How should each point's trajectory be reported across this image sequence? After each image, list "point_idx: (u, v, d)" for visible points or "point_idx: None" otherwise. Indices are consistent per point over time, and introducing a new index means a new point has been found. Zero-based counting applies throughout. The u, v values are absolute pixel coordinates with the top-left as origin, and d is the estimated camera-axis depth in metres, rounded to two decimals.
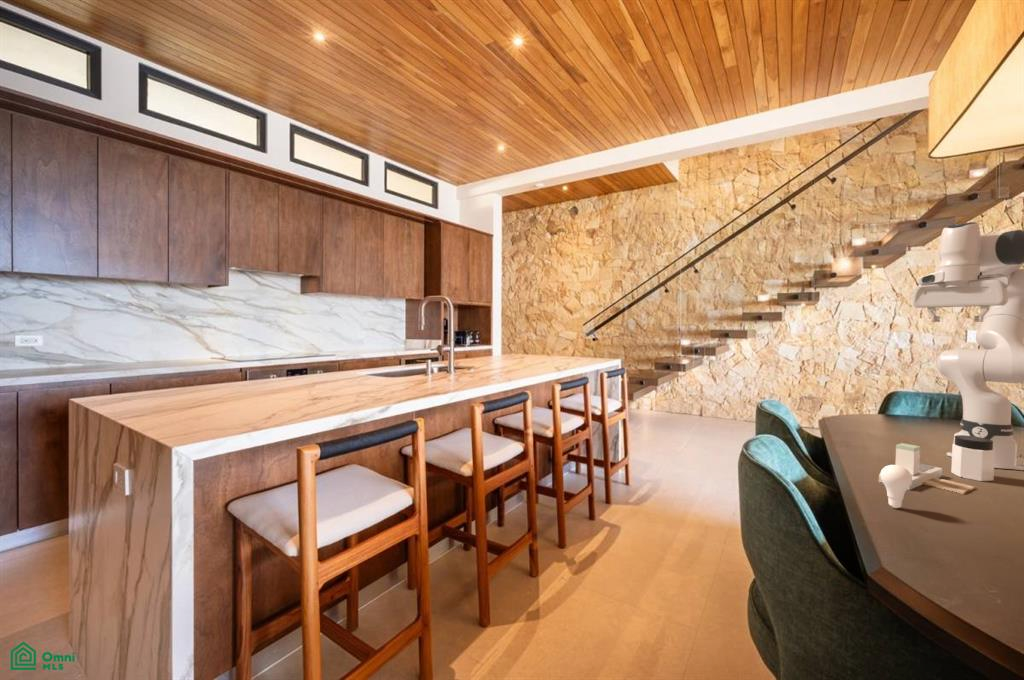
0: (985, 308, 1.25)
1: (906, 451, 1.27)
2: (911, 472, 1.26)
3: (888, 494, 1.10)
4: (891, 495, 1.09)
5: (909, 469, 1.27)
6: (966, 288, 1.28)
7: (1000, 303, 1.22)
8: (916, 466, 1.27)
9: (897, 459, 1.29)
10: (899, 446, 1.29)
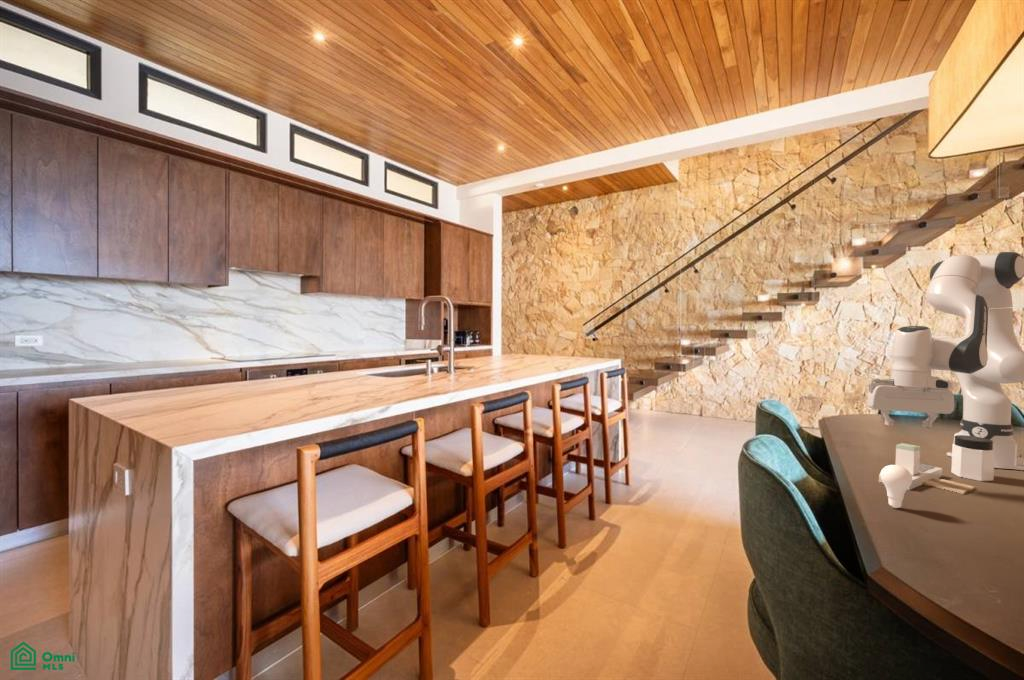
0: None
1: (906, 451, 1.27)
2: (911, 472, 1.26)
3: (888, 494, 1.10)
4: (891, 495, 1.09)
5: (909, 469, 1.27)
6: None
7: None
8: (916, 466, 1.27)
9: (897, 459, 1.29)
10: (899, 446, 1.29)
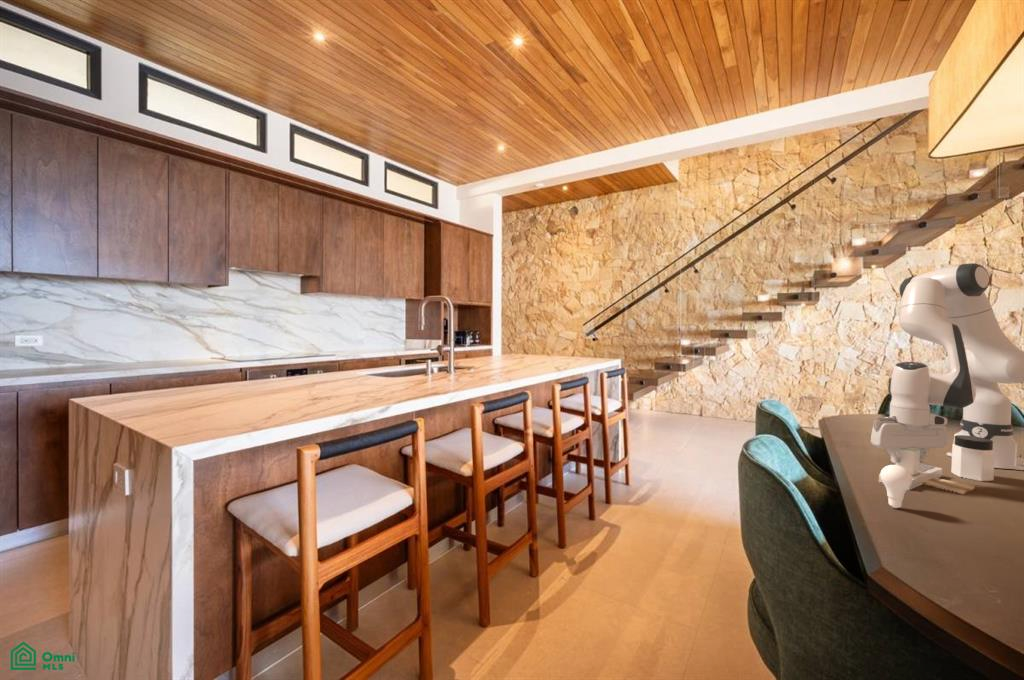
0: None
1: (906, 451, 1.27)
2: (911, 472, 1.26)
3: (888, 494, 1.10)
4: (891, 495, 1.09)
5: (909, 469, 1.27)
6: None
7: None
8: (916, 466, 1.27)
9: None
10: None
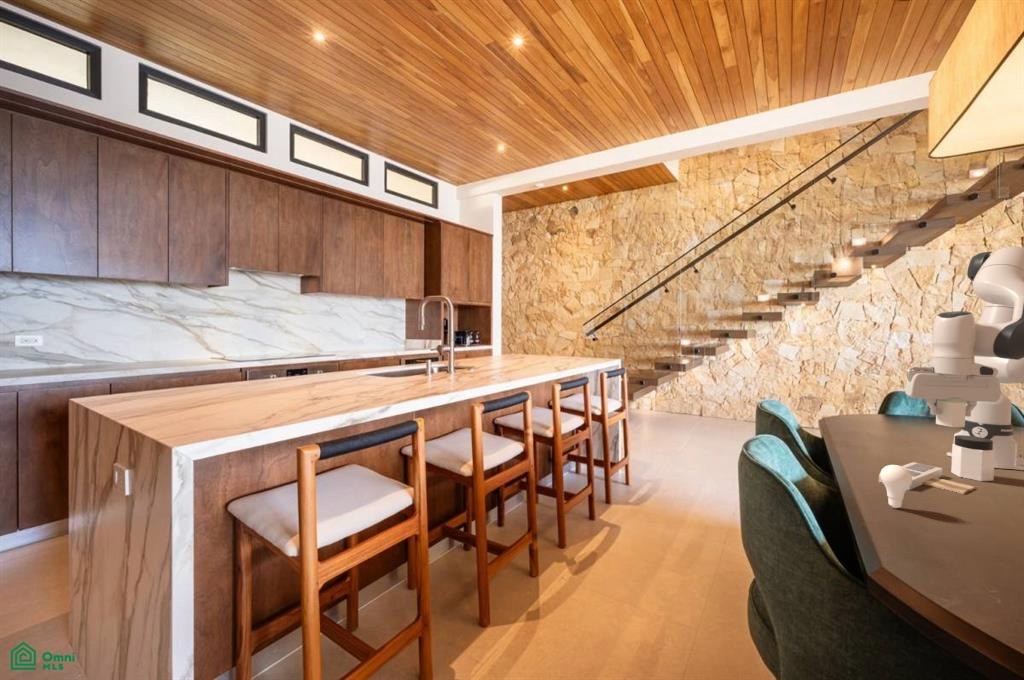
0: None
1: (946, 402, 1.23)
2: (950, 424, 1.22)
3: (888, 494, 1.10)
4: (891, 495, 1.09)
5: (949, 421, 1.23)
6: None
7: None
8: (958, 419, 1.22)
9: None
10: None
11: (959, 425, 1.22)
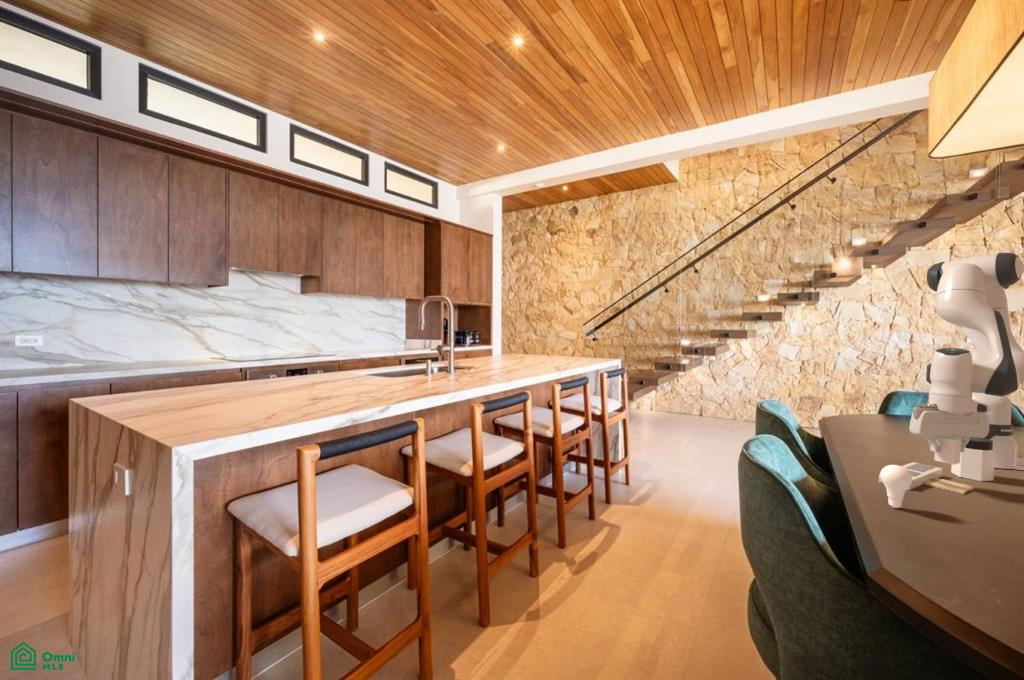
0: None
1: (947, 439, 1.23)
2: (952, 461, 1.22)
3: (888, 494, 1.10)
4: (891, 495, 1.09)
5: (950, 458, 1.23)
6: None
7: None
8: (957, 455, 1.23)
9: None
10: None
11: (957, 462, 1.23)
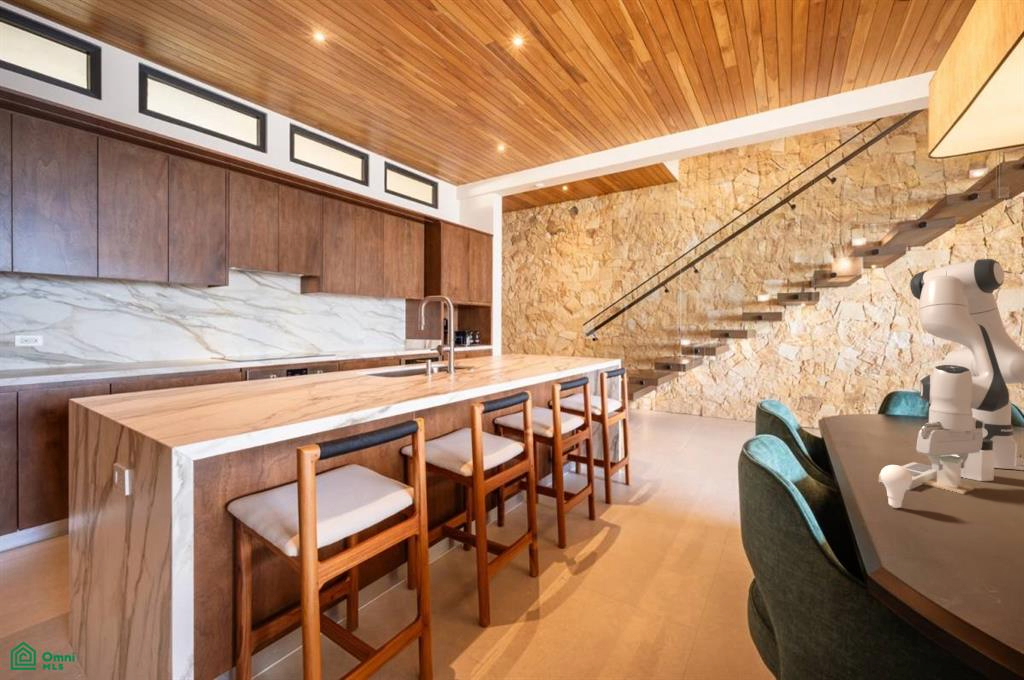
0: None
1: (949, 463, 1.23)
2: (955, 485, 1.22)
3: (888, 494, 1.10)
4: (891, 495, 1.09)
5: (953, 481, 1.22)
6: None
7: None
8: (959, 478, 1.23)
9: (938, 472, 1.25)
10: (941, 458, 1.24)
11: (959, 484, 1.23)
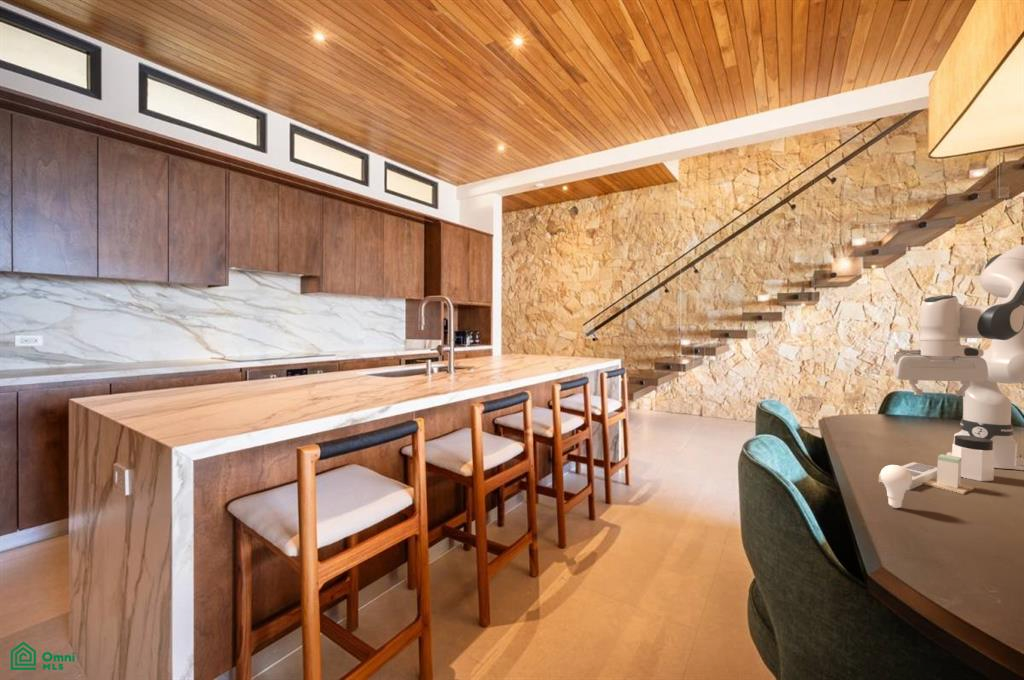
0: None
1: (949, 463, 1.23)
2: (955, 485, 1.22)
3: (888, 494, 1.10)
4: (891, 495, 1.09)
5: (953, 481, 1.22)
6: None
7: None
8: (959, 478, 1.23)
9: (938, 472, 1.25)
10: (941, 458, 1.24)
11: (959, 484, 1.23)
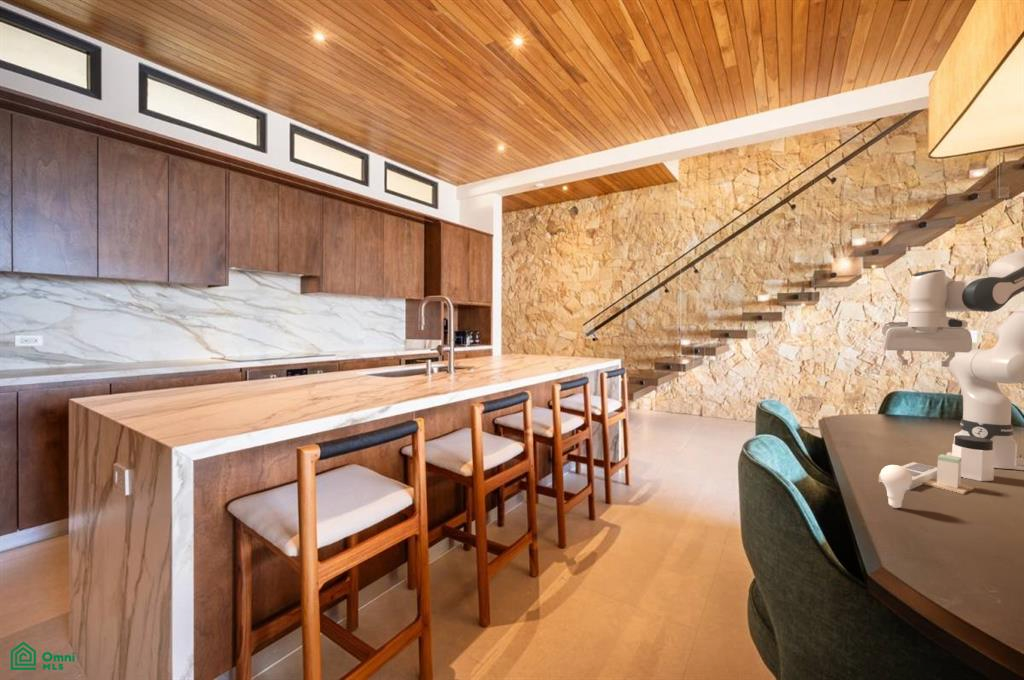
0: None
1: (949, 463, 1.23)
2: (955, 485, 1.22)
3: (888, 494, 1.10)
4: (891, 495, 1.09)
5: (953, 481, 1.22)
6: None
7: None
8: (959, 478, 1.23)
9: (938, 472, 1.25)
10: (941, 458, 1.24)
11: (959, 484, 1.23)
